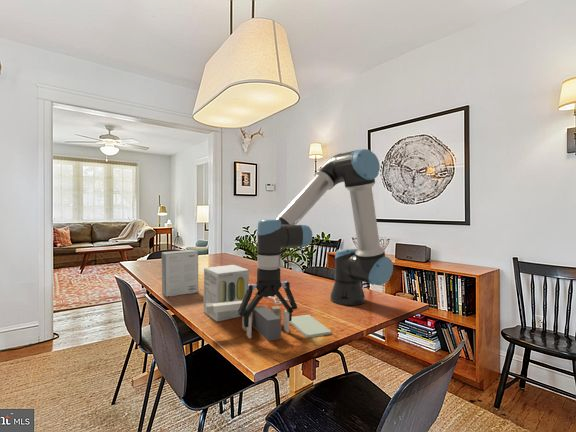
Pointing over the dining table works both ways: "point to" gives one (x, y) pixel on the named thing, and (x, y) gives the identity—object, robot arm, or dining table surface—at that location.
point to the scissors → (277, 298)
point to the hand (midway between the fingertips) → (268, 333)
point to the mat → (309, 326)
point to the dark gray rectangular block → (266, 323)
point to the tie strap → (223, 306)
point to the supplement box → (225, 288)
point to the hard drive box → (179, 272)
